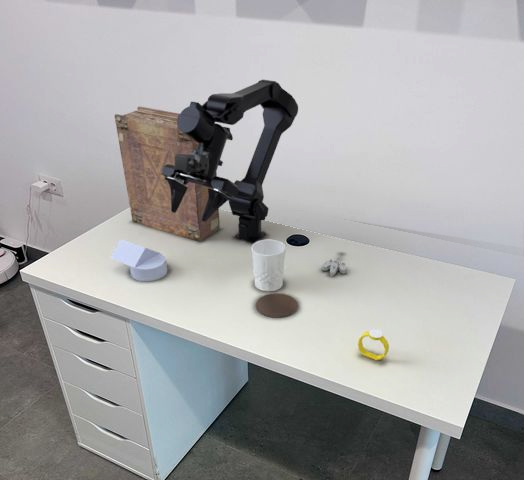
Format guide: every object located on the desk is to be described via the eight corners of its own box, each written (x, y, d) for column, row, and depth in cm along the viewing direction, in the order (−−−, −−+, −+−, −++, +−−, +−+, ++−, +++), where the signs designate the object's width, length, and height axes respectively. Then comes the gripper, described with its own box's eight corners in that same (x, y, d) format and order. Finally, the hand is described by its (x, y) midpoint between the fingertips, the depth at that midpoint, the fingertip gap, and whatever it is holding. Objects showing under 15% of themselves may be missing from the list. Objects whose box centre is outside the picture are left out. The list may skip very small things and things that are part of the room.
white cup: (285, 293, 127) (285, 255, 120) (251, 293, 127) (250, 255, 121) (284, 276, 133) (285, 239, 127) (252, 275, 133) (252, 239, 127)
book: (131, 221, 158) (113, 114, 139) (152, 210, 164) (137, 105, 145) (200, 242, 147) (190, 128, 129) (220, 229, 153) (213, 119, 135)
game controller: (323, 276, 132) (323, 267, 131) (320, 254, 141) (320, 245, 140) (346, 276, 132) (347, 267, 131) (341, 254, 141) (342, 245, 140)
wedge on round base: (112, 270, 136) (149, 285, 130) (107, 246, 132) (145, 260, 126) (137, 255, 142) (174, 269, 136) (133, 232, 137) (171, 245, 132)
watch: (354, 355, 108) (357, 331, 104) (360, 348, 110) (363, 324, 106) (382, 365, 106) (386, 341, 102) (388, 357, 107) (392, 333, 104)
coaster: (270, 290, 128) (270, 289, 128) (305, 302, 123) (305, 301, 123) (247, 309, 122) (247, 308, 121) (283, 322, 117) (283, 321, 117)
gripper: (157, 129, 120) (136, 197, 121) (223, 144, 111) (200, 216, 113) (186, 149, 130) (166, 211, 131) (249, 163, 121) (227, 230, 123)
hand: (188, 216), depth 124 cm, fingers open, 9 cm apart
